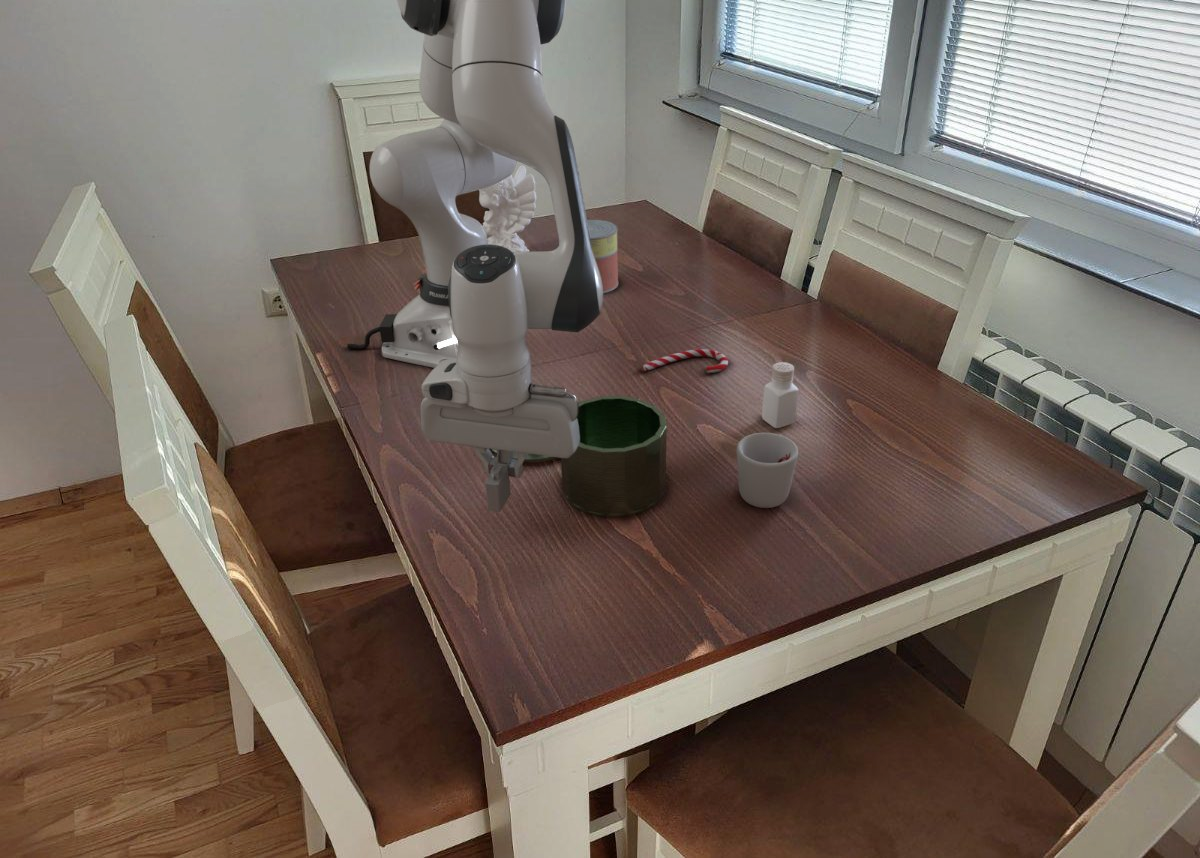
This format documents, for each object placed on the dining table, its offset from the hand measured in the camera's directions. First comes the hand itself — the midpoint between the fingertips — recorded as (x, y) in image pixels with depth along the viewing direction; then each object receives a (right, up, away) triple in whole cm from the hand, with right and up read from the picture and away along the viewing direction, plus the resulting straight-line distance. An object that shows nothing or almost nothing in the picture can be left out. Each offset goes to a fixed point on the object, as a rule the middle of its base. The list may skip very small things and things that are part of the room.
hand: (504, 473), depth 116 cm
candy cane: (+27, +16, +38) cm, 49 cm away
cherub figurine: (-8, +46, +87) cm, 98 cm away
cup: (+35, -3, +6) cm, 35 cm away
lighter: (0, -3, +1) cm, 3 cm away
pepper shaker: (+40, +7, +22) cm, 46 cm away
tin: (+14, -2, +8) cm, 17 cm away
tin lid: (+3, +5, +19) cm, 20 cm away
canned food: (+11, +36, +70) cm, 80 cm away
